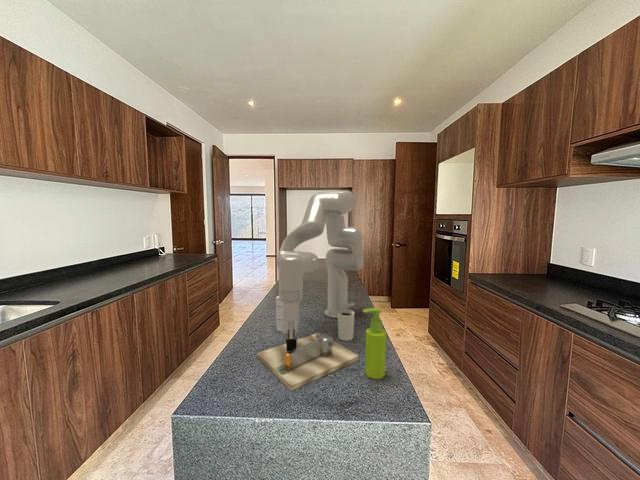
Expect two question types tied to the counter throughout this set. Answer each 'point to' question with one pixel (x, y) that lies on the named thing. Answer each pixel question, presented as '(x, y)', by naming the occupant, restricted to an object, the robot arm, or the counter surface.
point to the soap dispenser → (375, 346)
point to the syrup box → (279, 314)
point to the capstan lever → (309, 351)
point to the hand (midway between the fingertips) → (291, 349)
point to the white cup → (345, 324)
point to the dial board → (305, 363)
